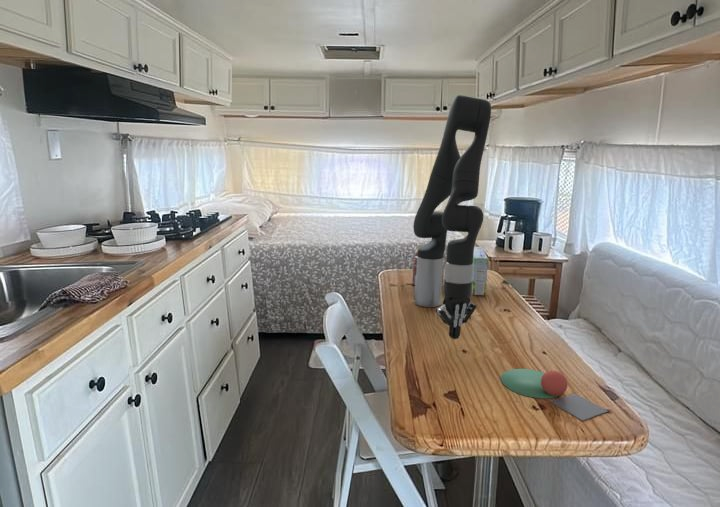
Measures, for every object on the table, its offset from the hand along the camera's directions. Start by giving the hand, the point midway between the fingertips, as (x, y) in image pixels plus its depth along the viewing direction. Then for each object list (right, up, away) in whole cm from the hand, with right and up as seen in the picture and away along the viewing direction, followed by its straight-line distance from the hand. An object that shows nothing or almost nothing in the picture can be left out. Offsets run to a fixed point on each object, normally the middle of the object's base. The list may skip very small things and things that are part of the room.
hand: (454, 337), depth 128 cm
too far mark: (+21, -9, -30) cm, 38 cm away
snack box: (+21, +9, +57) cm, 61 cm away
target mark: (+14, -7, -20) cm, 26 cm away
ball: (+17, -5, -25) cm, 31 cm away
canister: (+1, +11, +60) cm, 61 cm away
